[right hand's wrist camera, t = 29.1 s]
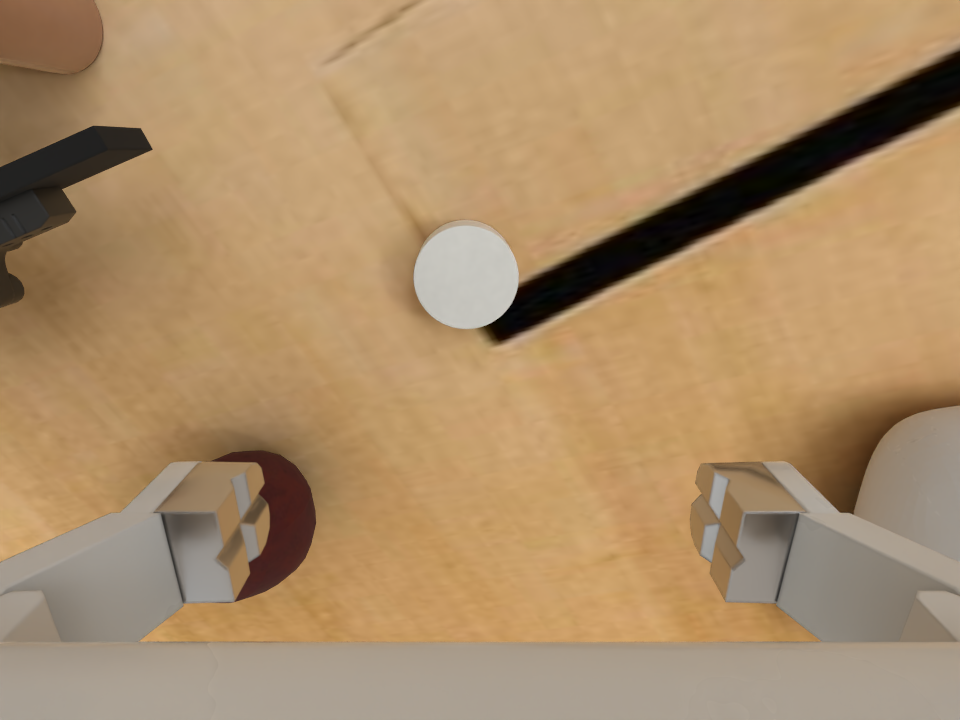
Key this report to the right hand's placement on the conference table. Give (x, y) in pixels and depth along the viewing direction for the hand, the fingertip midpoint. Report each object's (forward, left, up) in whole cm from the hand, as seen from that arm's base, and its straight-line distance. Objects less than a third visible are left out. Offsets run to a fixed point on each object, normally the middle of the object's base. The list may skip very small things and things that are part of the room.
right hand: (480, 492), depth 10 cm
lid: (0, 0, -17) cm, 17 cm away
